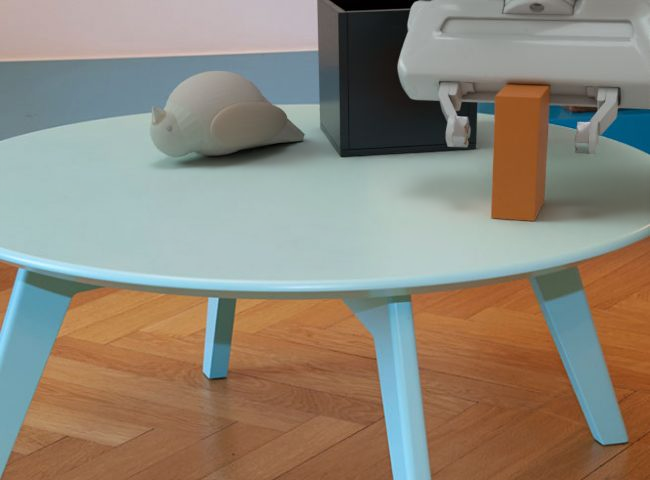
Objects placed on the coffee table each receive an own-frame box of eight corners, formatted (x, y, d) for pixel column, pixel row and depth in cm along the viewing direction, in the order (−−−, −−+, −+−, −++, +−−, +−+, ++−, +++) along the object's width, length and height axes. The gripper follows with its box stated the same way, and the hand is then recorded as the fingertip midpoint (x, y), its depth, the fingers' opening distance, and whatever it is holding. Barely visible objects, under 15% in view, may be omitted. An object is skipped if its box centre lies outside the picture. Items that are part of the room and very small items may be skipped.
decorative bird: (129, 159, 103) (122, 76, 100) (263, 130, 113) (260, 54, 110) (188, 176, 97) (182, 87, 94) (324, 143, 107) (322, 63, 104)
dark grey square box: (442, 120, 115) (444, -8, 110) (476, 149, 104) (480, 6, 99) (320, 127, 114) (316, -3, 109) (340, 156, 102) (338, 12, 97)
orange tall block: (544, 202, 87) (550, 84, 84) (534, 221, 83) (540, 97, 79) (502, 199, 88) (507, 82, 85) (490, 218, 83) (495, 95, 80)
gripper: (407, -35, 88) (374, 116, 83) (682, -34, 82) (663, 129, 77) (420, 17, 94) (389, 161, 89) (678, 22, 88) (660, 176, 83)
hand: (519, 146), depth 83 cm, fingers open, 8 cm apart
